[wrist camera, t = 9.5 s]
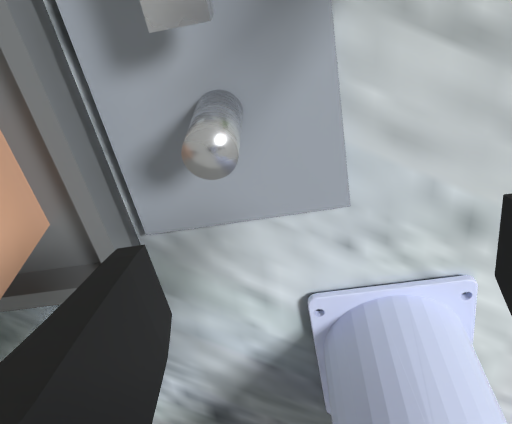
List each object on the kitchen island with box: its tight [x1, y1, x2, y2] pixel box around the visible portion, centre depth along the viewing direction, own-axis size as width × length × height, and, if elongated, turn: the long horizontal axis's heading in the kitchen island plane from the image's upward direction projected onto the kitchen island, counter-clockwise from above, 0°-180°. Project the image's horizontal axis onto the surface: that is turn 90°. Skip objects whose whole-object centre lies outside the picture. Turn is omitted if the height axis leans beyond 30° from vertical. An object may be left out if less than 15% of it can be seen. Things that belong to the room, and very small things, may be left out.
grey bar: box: [140, 0, 243, 180], centre depth 15 cm, size 8×2×4 cm, turn 11°
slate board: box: [55, 0, 351, 235], centre depth 17 cm, size 14×9×1 cm, turn 11°
